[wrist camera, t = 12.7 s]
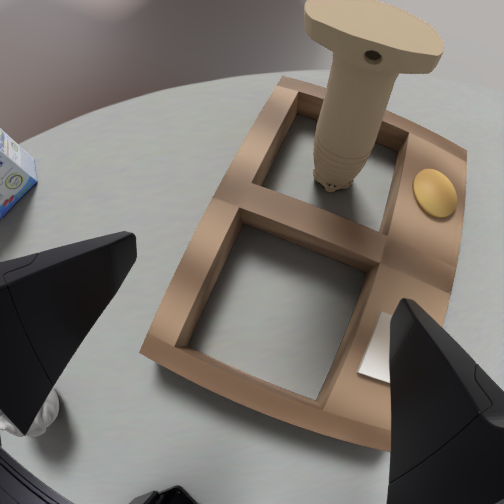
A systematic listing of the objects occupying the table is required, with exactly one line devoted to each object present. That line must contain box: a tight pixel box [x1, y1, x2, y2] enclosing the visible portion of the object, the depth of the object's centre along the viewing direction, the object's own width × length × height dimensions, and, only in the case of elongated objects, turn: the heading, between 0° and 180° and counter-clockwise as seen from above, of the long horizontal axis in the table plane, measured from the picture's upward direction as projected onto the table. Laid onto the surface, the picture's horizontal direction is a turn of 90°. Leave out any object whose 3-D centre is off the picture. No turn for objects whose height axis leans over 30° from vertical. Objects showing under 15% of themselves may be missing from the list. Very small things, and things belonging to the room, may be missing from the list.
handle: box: [304, 0, 444, 192], centre depth 16 cm, size 5×6×15 cm
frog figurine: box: [0, 387, 59, 437], centre depth 16 cm, size 6×7×7 cm
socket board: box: [139, 76, 467, 452], centre depth 20 cm, size 25×18×3 cm
